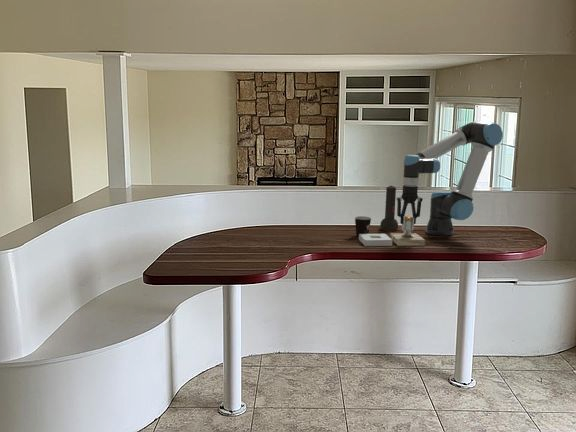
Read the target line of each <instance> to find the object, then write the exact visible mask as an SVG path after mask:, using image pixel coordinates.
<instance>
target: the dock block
mask: <svg viewBox="0 0 576 432" xmlns="http://www.w3.org/2000/svg"><path fill="white" fill-rule="evenodd" d="M389 238H391V239H392V243H394V244H396V246H398V247H401V246H403V247H405V246H407V247H410V246H418V247H419V246H425V245H426V244H425V243H426V239H424V238H423V237H422V236H421V235H419V234H417V233H415V232H414V233H412V232H411V238H403V233H390V236H389Z"/></svg>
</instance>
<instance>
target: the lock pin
mask: <svg viewBox="0 0 576 432" xmlns="http://www.w3.org/2000/svg"><path fill="white" fill-rule="evenodd" d="M412 217H413V216H409V215H408V216H407V215H406V216H404V218H405V231H403V233H402V234H403V238H411V233H412Z"/></svg>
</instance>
